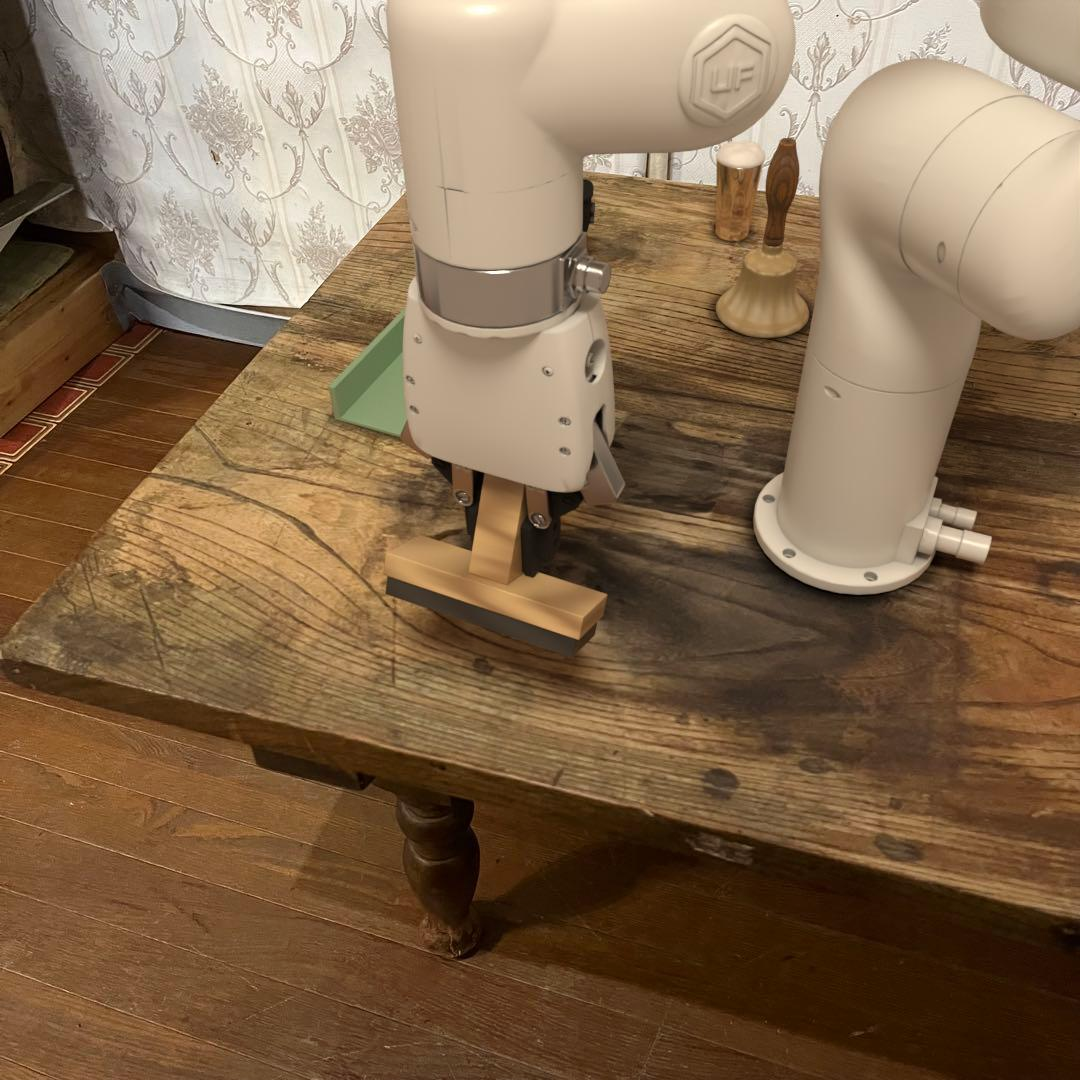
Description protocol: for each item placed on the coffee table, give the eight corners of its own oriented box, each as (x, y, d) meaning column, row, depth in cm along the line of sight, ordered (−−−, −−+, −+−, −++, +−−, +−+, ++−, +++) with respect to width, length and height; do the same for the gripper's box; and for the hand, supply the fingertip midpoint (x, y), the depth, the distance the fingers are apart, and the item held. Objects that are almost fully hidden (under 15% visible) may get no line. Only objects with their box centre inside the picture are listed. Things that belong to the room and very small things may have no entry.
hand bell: (828, 317, 92) (863, 143, 81) (759, 350, 89) (785, 172, 78) (764, 278, 97) (788, 108, 86) (696, 307, 94) (712, 135, 83)
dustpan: (526, 473, 79) (524, 439, 76) (334, 419, 84) (327, 386, 82) (631, 320, 93) (632, 288, 91) (462, 283, 98) (459, 251, 96)
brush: (599, 635, 58) (629, 492, 56) (574, 661, 55) (605, 509, 52) (414, 574, 62) (433, 437, 59) (379, 594, 59) (398, 449, 56)
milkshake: (738, 215, 106) (750, 118, 99) (762, 240, 102) (776, 141, 95) (698, 223, 105) (706, 126, 98) (720, 248, 101) (731, 149, 94)
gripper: (696, 261, 46) (669, 549, 59) (386, 197, 51) (423, 476, 64) (637, 349, 42) (621, 642, 55) (301, 269, 47) (360, 555, 60)
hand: (514, 550), depth 59 cm, fingers closed on brush, 2 cm apart
